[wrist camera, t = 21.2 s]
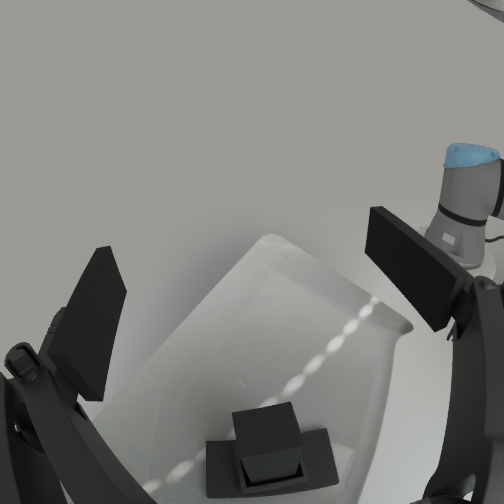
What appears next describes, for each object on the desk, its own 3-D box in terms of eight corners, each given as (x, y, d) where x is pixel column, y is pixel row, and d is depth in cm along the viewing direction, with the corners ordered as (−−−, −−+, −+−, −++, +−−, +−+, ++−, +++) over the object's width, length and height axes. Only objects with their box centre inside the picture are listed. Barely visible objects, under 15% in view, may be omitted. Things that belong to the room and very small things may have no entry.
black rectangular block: (286, 445, 22) (290, 400, 17) (295, 475, 19) (304, 444, 14) (245, 453, 21) (231, 412, 16) (251, 484, 18) (239, 458, 13)
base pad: (325, 431, 23) (328, 422, 22) (337, 484, 18) (342, 479, 17) (208, 443, 23) (202, 435, 22) (208, 498, 18) (202, 494, 16)
